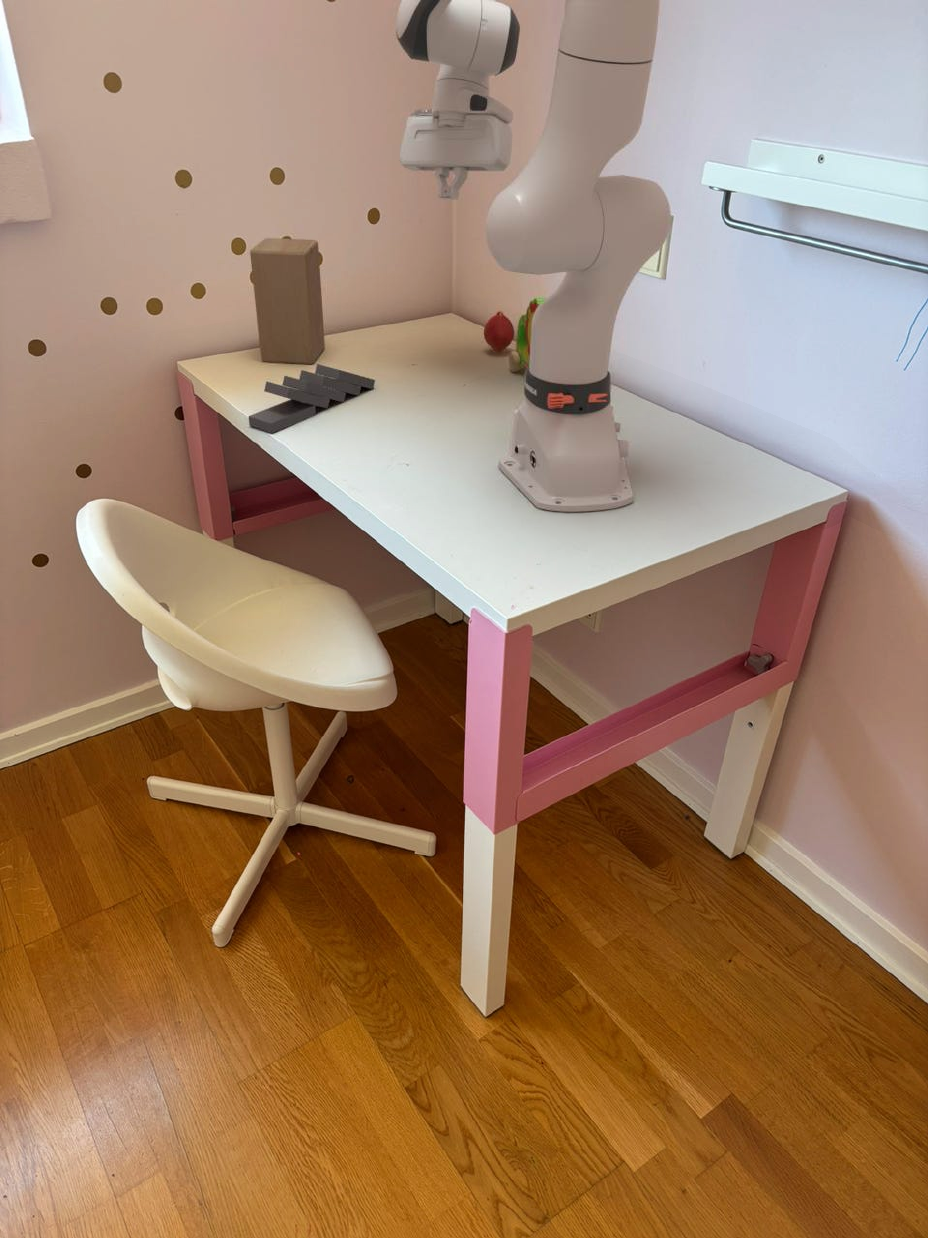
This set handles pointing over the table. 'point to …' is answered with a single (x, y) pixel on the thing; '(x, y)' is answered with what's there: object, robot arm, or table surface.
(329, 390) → the domino
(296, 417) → the domino
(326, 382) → the domino
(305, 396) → the domino
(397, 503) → the table surface
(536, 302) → the toy lion
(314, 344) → the wooden block
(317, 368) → the domino
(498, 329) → the onion
